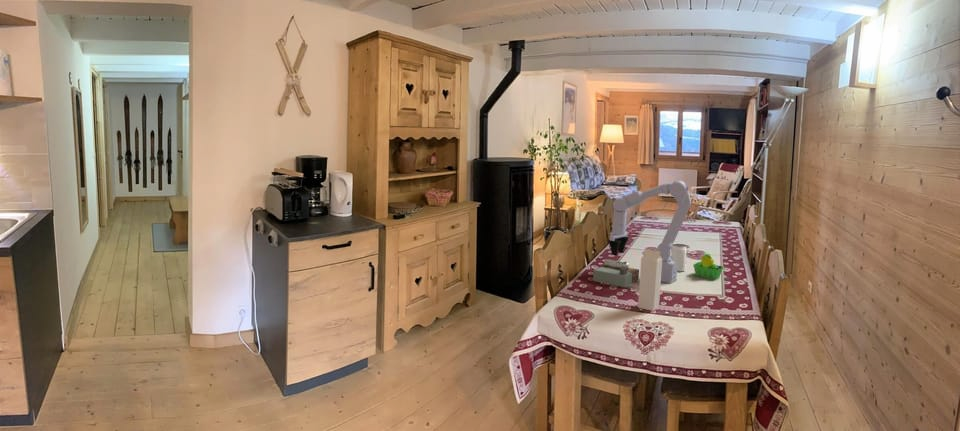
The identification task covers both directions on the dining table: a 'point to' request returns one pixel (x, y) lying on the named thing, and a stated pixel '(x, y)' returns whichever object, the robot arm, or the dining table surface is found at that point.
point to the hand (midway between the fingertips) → (617, 253)
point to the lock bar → (616, 263)
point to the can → (679, 256)
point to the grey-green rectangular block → (613, 276)
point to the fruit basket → (707, 268)
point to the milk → (650, 280)
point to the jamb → (634, 271)
